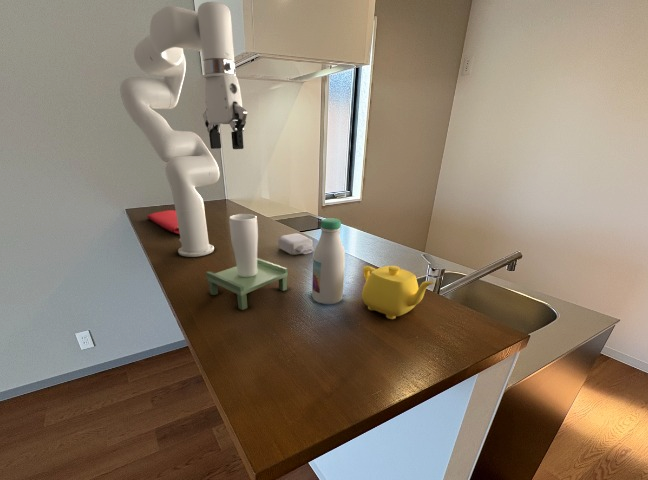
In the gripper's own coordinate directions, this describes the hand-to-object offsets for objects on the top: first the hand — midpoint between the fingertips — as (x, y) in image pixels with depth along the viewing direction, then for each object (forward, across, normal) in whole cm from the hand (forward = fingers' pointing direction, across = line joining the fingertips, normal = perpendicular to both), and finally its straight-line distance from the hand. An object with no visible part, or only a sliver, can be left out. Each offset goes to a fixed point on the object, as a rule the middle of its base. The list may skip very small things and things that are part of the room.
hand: (226, 148), depth 86 cm
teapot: (+34, -49, -7) cm, 60 cm away
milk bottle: (+34, -34, -2) cm, 48 cm away
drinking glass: (+30, -16, +9) cm, 35 cm away
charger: (+34, -5, -24) cm, 42 cm away
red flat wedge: (+34, +67, -16) cm, 77 cm away
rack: (+34, -16, +9) cm, 39 cm away
